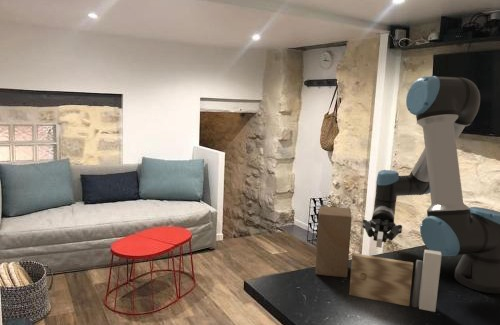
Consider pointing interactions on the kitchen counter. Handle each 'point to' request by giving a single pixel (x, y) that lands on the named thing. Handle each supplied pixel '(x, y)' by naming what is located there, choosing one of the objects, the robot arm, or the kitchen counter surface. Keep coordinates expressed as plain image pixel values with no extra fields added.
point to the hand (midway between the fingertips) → (379, 243)
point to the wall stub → (427, 281)
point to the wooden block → (333, 241)
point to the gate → (381, 279)
